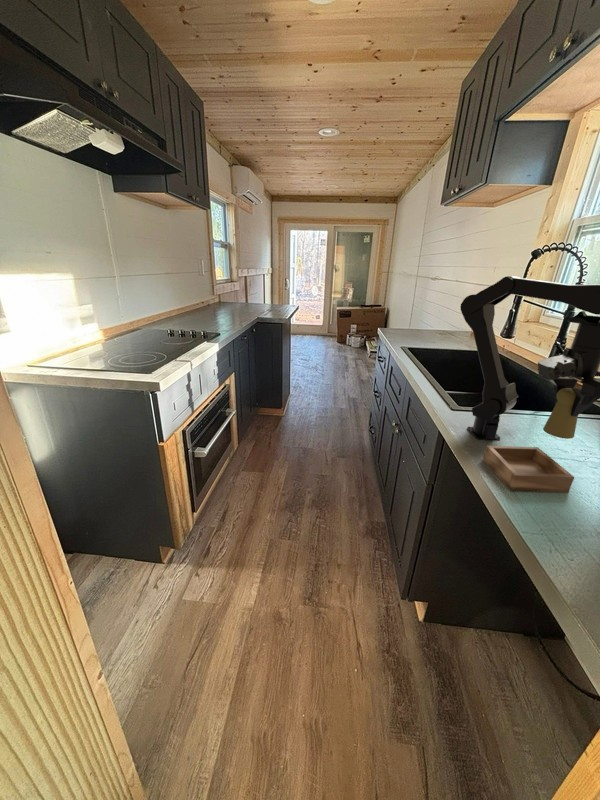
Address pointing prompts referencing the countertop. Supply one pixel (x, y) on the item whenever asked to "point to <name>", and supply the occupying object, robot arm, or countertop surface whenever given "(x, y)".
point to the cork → (562, 416)
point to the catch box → (527, 469)
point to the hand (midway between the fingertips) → (565, 411)
